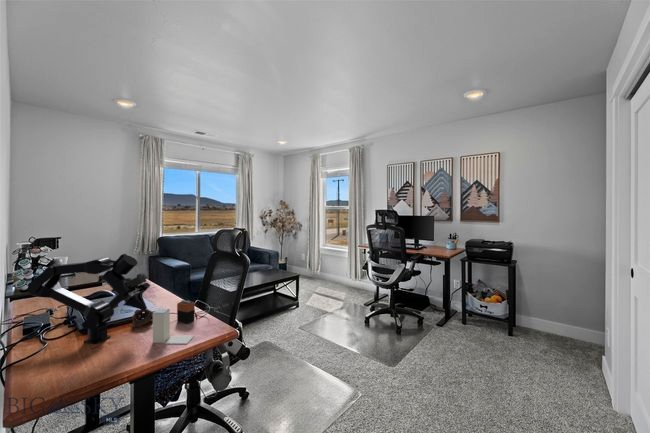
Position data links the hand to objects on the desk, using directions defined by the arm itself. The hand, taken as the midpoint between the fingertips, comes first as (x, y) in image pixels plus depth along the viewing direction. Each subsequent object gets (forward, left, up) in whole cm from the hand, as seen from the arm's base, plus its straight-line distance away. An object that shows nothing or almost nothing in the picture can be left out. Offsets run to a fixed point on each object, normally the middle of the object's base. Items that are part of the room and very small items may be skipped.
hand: (145, 309), depth 120 cm
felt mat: (+13, +4, -13) cm, 19 cm away
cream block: (+6, +2, -13) cm, 14 cm away
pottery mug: (-15, +12, -13) cm, 23 cm away
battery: (+2, +21, -13) cm, 24 cm away
